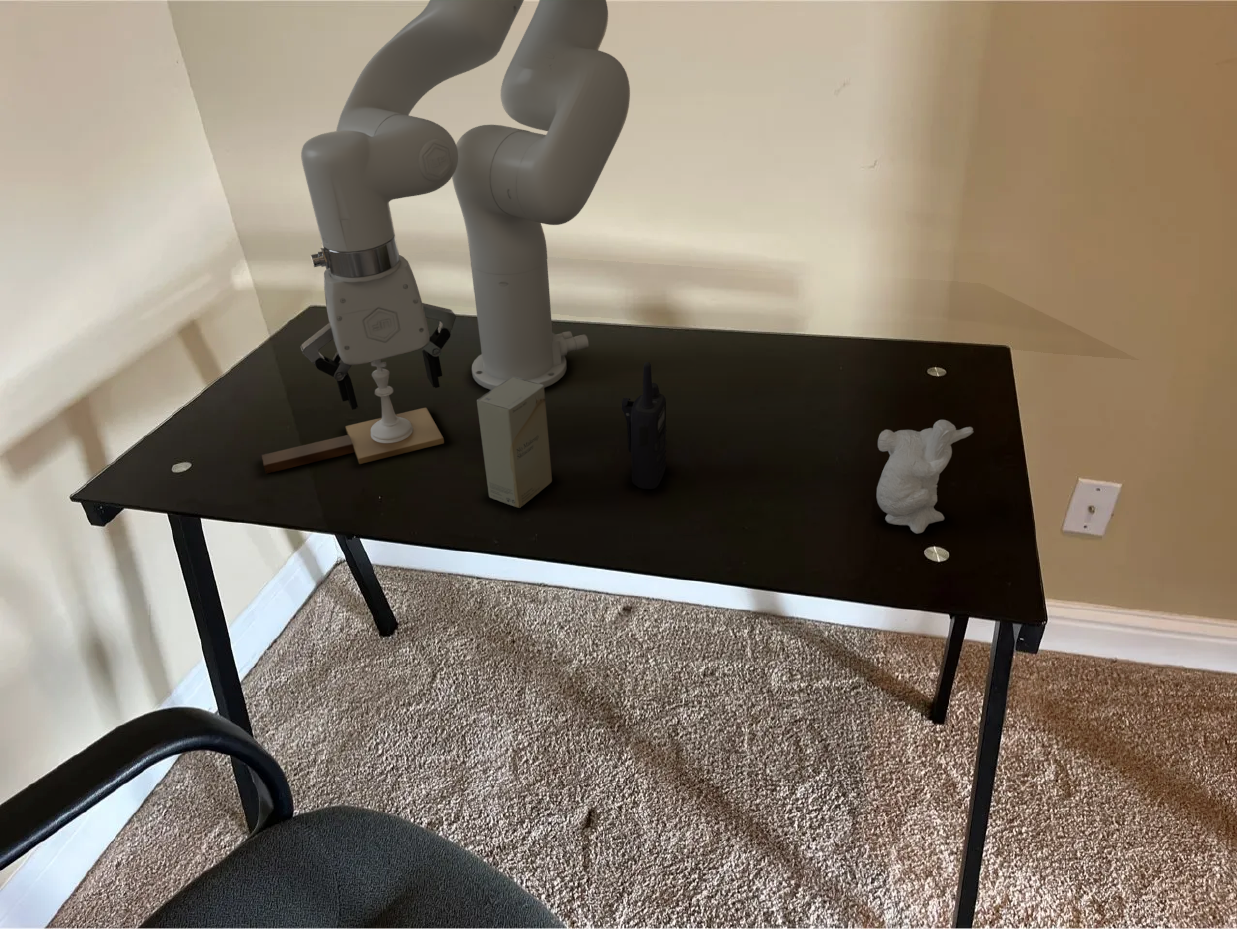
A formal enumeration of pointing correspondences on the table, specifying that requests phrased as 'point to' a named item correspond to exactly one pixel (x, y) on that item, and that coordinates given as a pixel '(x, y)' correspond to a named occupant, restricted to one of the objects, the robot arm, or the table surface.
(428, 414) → the spatula
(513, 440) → the cosmetic box
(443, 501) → the table surface
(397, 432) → the chess piece
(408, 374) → the table surface
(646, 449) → the two-way radio
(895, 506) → the koala figurine
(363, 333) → the robot arm
